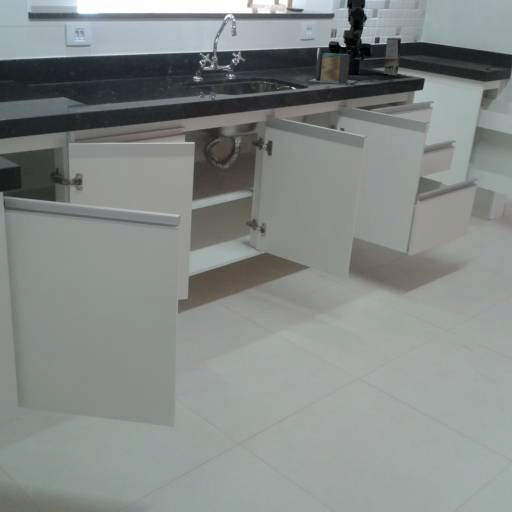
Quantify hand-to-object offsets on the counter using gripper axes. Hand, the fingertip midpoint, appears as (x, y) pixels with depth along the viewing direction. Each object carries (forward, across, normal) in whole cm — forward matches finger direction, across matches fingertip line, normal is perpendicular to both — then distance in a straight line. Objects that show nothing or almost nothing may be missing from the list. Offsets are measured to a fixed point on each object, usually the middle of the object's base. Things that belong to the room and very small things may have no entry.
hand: (345, 64), depth 307 cm
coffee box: (-20, +12, +31) cm, 39 cm away
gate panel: (+9, -3, -1) cm, 10 cm away
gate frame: (+11, -4, -1) cm, 11 cm away
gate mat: (+8, -4, +2) cm, 9 cm away
